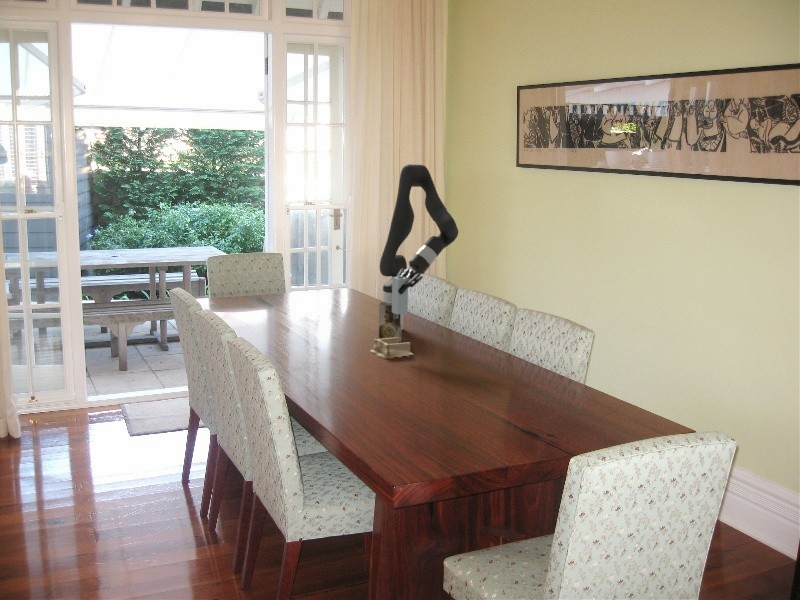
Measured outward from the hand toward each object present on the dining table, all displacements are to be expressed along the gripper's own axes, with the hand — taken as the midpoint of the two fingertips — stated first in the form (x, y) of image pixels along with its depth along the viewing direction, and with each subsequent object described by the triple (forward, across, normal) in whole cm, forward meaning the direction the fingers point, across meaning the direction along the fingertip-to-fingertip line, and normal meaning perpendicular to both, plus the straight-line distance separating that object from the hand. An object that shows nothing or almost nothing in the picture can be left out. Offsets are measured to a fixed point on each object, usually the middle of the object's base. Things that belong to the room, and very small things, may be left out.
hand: (396, 291), depth 346 cm
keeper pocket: (+18, 0, +17) cm, 25 cm away
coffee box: (+12, -19, +24) cm, 33 cm away
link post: (+5, 0, +7) cm, 9 cm away
